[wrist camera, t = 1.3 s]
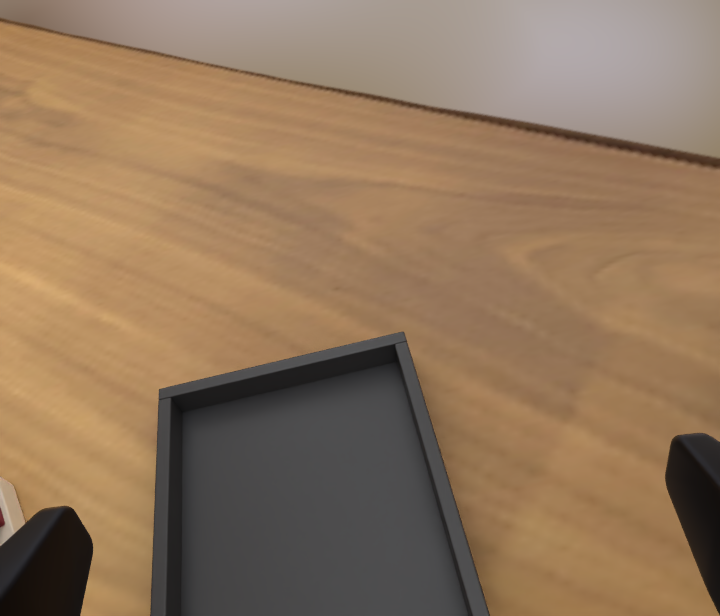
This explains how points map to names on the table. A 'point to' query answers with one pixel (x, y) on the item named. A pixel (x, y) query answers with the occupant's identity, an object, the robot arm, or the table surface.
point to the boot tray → (308, 493)
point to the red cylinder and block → (9, 511)
